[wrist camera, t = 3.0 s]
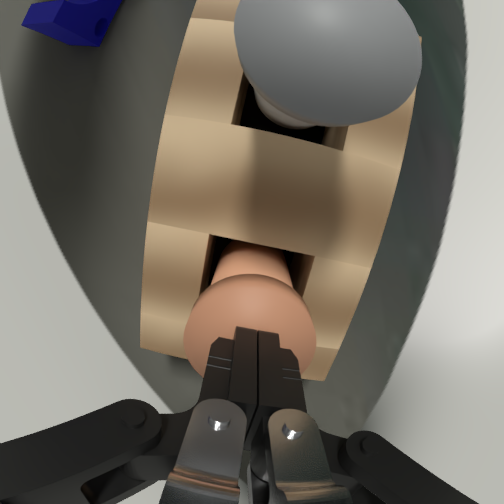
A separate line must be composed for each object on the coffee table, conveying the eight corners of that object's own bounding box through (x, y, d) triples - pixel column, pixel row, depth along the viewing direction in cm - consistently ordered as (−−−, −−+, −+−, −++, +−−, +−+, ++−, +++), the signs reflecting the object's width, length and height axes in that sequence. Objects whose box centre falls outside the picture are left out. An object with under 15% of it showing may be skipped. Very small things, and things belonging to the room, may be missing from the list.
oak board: (216, 17, 14) (204, -21, 9) (385, 59, 15) (421, 37, 10) (162, 306, 20) (140, 347, 16) (311, 335, 21) (324, 380, 16)
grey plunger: (256, 38, 12) (256, -52, 4) (351, 62, 12) (425, 1, 5) (235, 125, 13) (213, 96, 6) (333, 148, 14) (408, 149, 6)
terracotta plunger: (219, 219, 17) (191, 274, 9) (302, 237, 17) (334, 302, 10) (206, 295, 18) (178, 380, 11) (281, 309, 18) (294, 400, 11)
